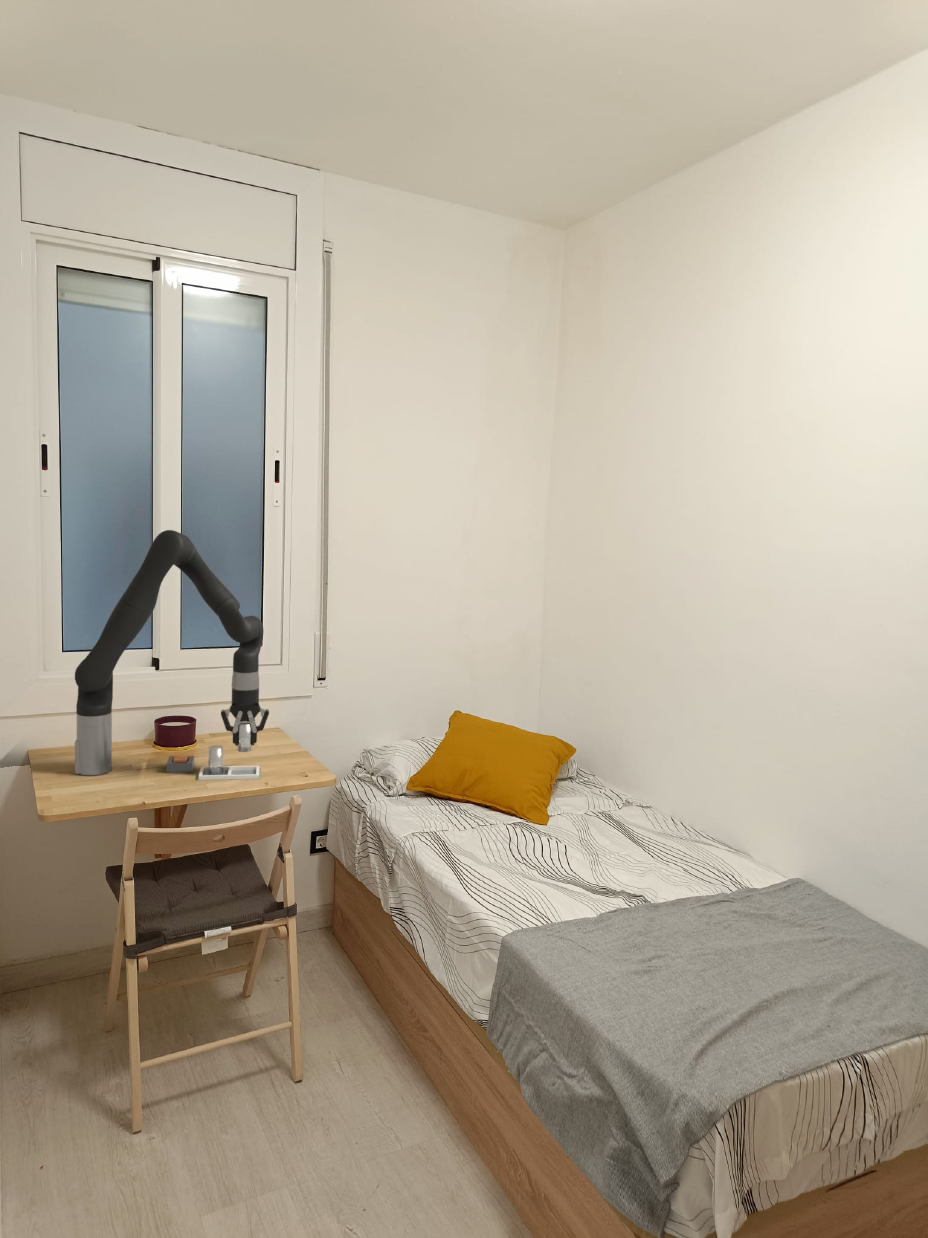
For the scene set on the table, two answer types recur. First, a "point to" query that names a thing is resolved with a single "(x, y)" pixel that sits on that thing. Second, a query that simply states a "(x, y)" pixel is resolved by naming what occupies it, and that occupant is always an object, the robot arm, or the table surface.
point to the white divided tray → (232, 773)
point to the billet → (244, 737)
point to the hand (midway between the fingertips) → (244, 744)
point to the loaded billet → (215, 760)
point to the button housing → (180, 765)
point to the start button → (180, 759)
